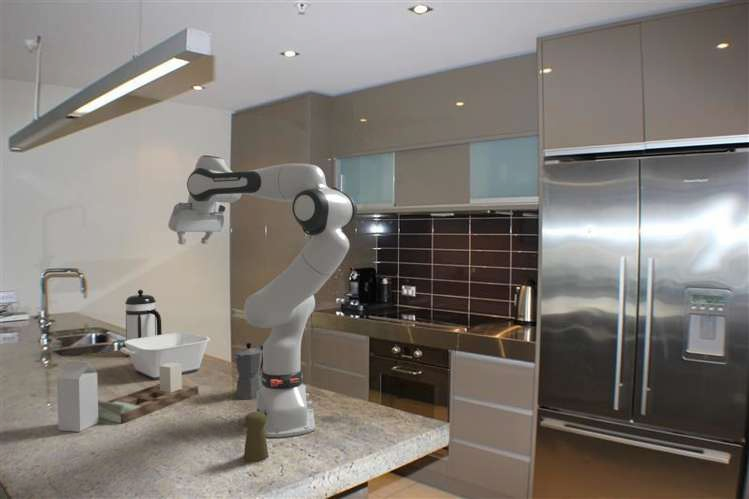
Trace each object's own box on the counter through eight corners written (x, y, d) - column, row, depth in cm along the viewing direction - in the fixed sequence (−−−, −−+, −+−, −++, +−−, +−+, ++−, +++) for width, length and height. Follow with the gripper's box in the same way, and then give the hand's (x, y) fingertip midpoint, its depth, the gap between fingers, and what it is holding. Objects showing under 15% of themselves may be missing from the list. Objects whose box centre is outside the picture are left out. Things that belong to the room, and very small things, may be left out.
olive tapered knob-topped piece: (270, 451, 128) (269, 408, 128) (266, 462, 122) (265, 417, 122) (246, 452, 128) (245, 409, 128) (240, 463, 122) (240, 417, 122)
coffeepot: (248, 403, 166) (248, 348, 165) (225, 399, 169) (224, 345, 169) (275, 389, 180) (275, 339, 179) (253, 386, 184) (253, 337, 183)
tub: (137, 388, 183) (136, 352, 183) (110, 374, 202) (109, 342, 201) (222, 369, 208) (222, 338, 207) (191, 358, 226) (191, 330, 226)
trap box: (166, 388, 182) (166, 374, 182) (198, 393, 176) (198, 379, 175) (88, 416, 155) (88, 399, 154) (123, 423, 148) (122, 406, 148)
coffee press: (119, 360, 224) (118, 292, 223) (127, 352, 240) (126, 288, 239) (161, 357, 229) (160, 291, 228) (167, 349, 244) (165, 287, 243)
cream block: (171, 386, 177) (170, 362, 177) (182, 388, 175) (181, 363, 175) (159, 390, 173) (159, 365, 173) (170, 392, 171) (170, 367, 171)
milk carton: (80, 432, 142) (78, 364, 141) (58, 430, 143) (56, 363, 143) (98, 423, 149) (97, 358, 148) (77, 421, 150) (76, 357, 150)
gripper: (182, 205, 156) (173, 247, 159) (231, 207, 174) (222, 246, 177) (168, 199, 159) (160, 241, 162) (218, 202, 177) (209, 240, 179)
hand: (193, 243), depth 169 cm, fingers open, 8 cm apart
